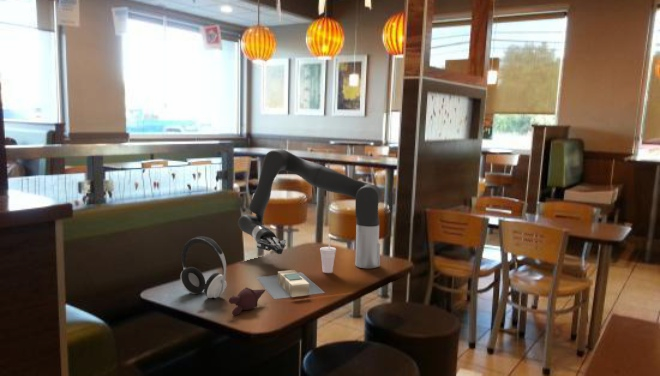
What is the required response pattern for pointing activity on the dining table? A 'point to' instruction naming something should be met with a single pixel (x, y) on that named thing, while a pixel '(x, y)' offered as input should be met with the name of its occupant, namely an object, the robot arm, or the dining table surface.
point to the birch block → (293, 283)
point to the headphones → (195, 279)
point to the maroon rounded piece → (245, 300)
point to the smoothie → (327, 258)
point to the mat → (279, 292)
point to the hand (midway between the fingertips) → (280, 251)
